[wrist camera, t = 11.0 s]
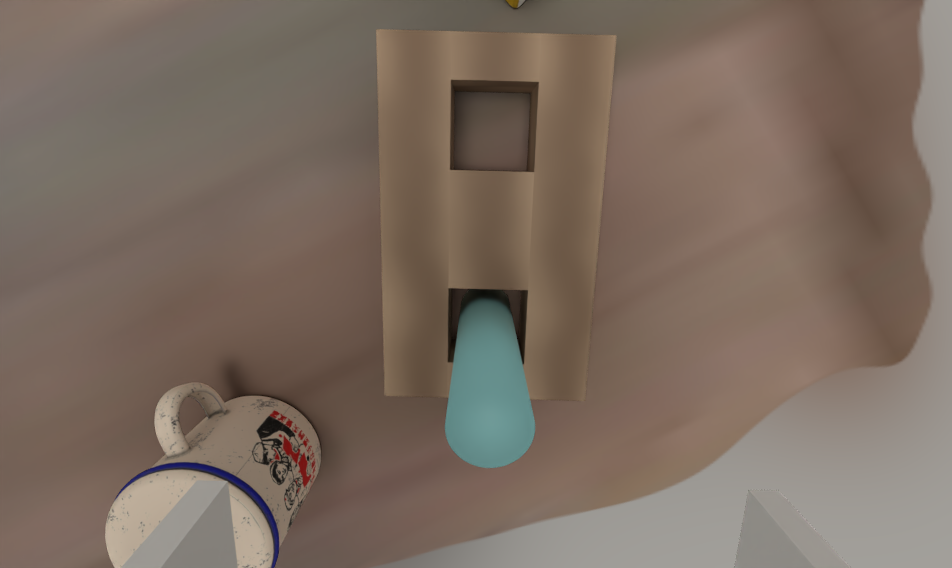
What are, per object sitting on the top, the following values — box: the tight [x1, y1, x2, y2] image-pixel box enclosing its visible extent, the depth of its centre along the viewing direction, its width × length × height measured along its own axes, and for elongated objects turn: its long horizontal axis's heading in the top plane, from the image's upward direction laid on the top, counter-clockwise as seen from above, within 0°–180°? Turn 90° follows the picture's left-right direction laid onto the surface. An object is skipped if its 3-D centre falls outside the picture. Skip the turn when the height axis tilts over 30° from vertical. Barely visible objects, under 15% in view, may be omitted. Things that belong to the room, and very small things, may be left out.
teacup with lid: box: [105, 382, 321, 568], centre depth 28 cm, size 12×9×12 cm
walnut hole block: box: [376, 29, 616, 401], centre depth 28 cm, size 12×20×4 cm, turn 179°
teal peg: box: [445, 289, 535, 468], centre depth 24 cm, size 3×3×15 cm
